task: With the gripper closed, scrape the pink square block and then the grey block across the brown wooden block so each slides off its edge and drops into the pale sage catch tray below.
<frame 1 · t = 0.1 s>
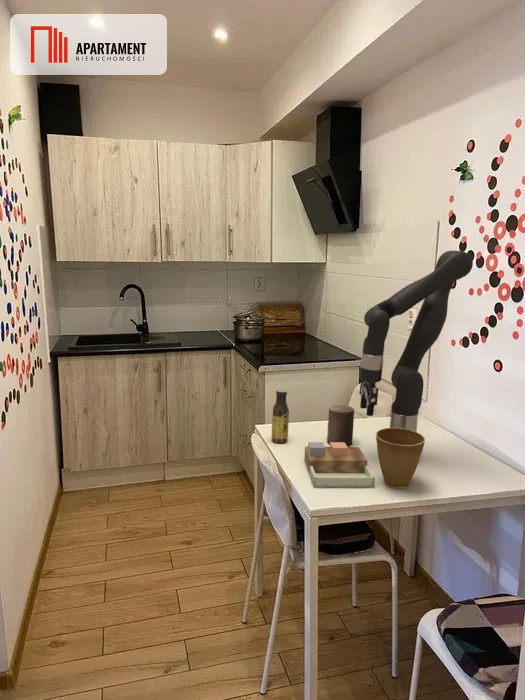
hand: (366, 411, 180), 17 cm above the table, tool pointing down, fingers open, 8 cm apart
brown wooden block: (334, 467, 175), on the table
pillar candle: (339, 442, 198), on the table
grey block: (316, 453, 173), point 5 cm above the table, touching brown wooden block
sage catch tray: (341, 481, 164), on the table
pink square block: (338, 453, 174), point 5 cm above the table, touching brown wooden block
plant pot: (396, 483, 164), on the table
sauce bottle: (279, 441, 197), on the table
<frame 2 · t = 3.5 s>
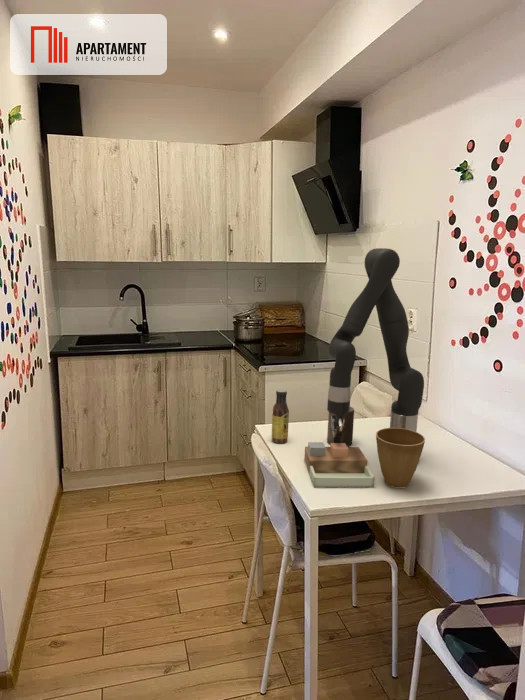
hand: (336, 446, 177), 6 cm above the table, tool pointing down, fingers closed
pink square block: (338, 454, 173), point 5 cm above the table, touching gripper
everything else where it was.
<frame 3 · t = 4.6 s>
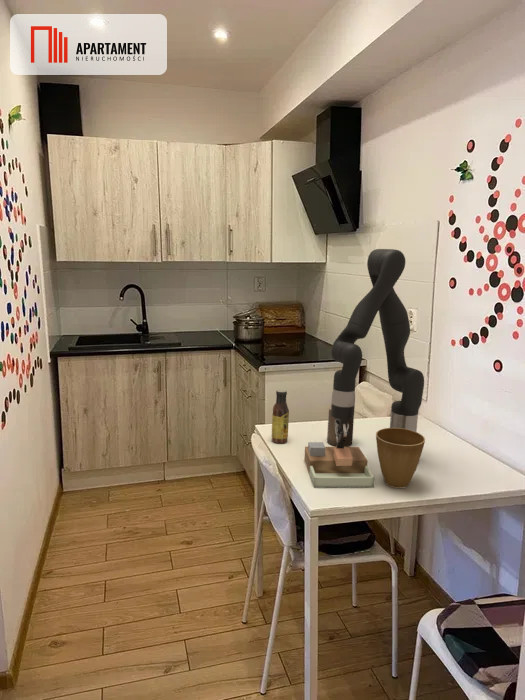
hand: (339, 452, 171), 7 cm above the table, tool pointing down, fingers closed
pink square block: (342, 460, 168), point 5 cm above the table, tilted 18°, touching gripper, brown wooden block
everything else where it was.
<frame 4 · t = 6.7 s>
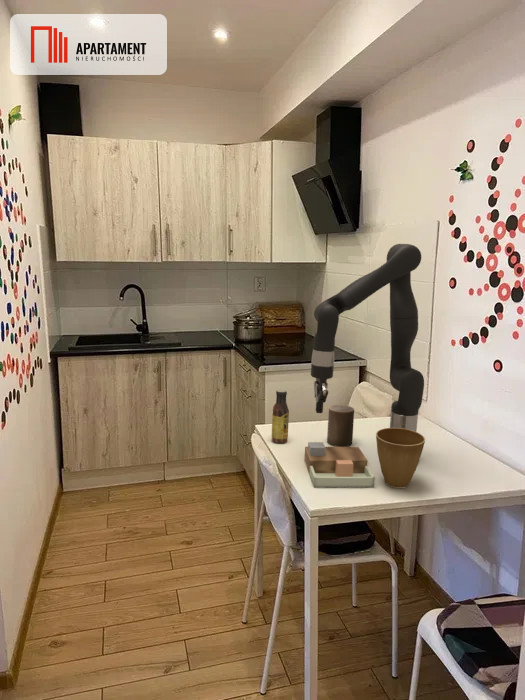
hand: (319, 412, 176), 18 cm above the table, tool pointing down, fingers closed
pink square block: (343, 467, 167), point 3 cm above the table, tilted 90°, touching sage catch tray
everything else where it was.
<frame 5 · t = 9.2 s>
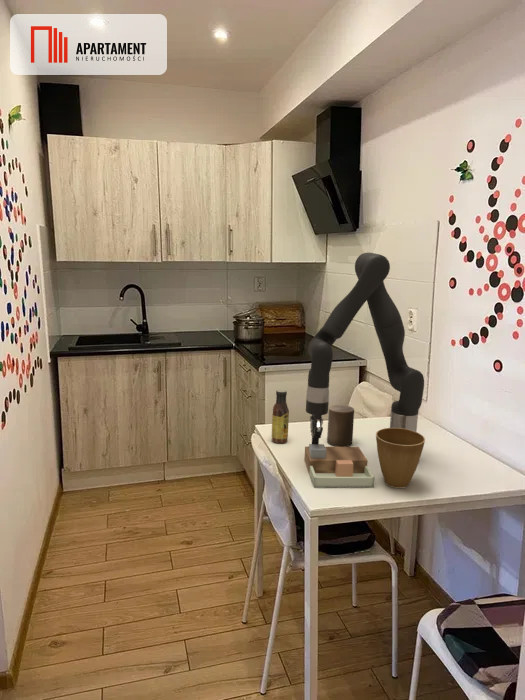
hand: (314, 447, 175), 6 cm above the table, tool pointing down, fingers closed
grey block: (317, 455, 171), point 5 cm above the table, touching gripper
everything else where it was.
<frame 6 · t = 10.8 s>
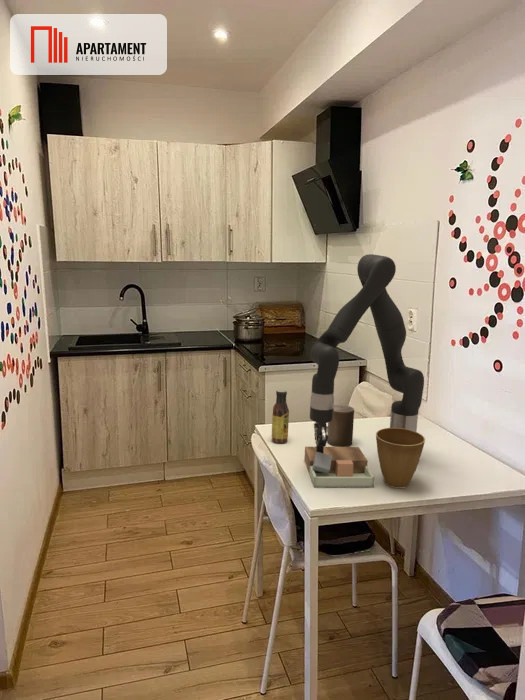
hand: (319, 456, 168), 6 cm above the table, tool pointing down, fingers closed
grey block: (320, 464, 166), point 4 cm above the table, tilted 42°, touching gripper, sage catch tray
everything else where it was.
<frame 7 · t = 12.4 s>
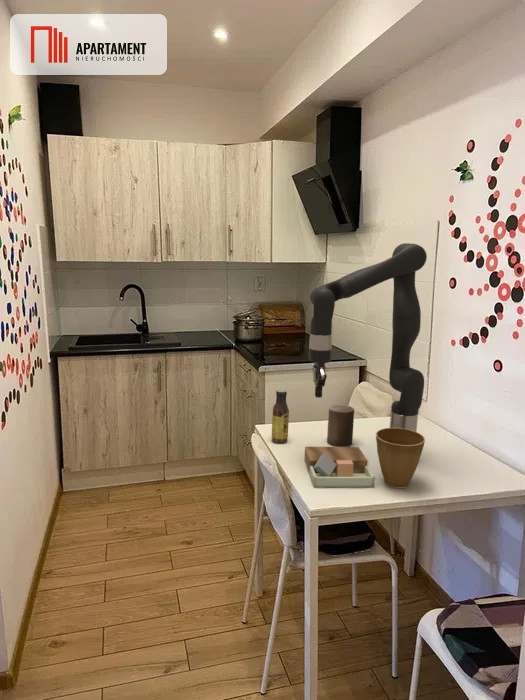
hand: (318, 396, 176), 23 cm above the table, tool pointing down, fingers closed
grey block: (322, 466, 166), point 4 cm above the table, tilted 56°, touching sage catch tray, brown wooden block
everything else where it was.
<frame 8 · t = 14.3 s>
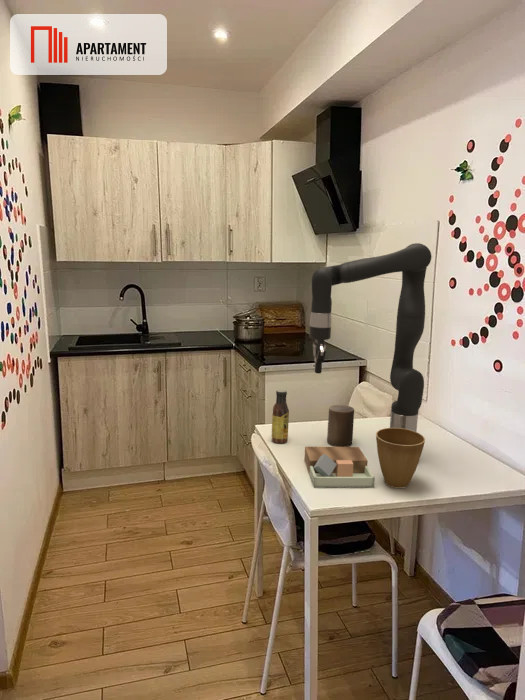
hand: (317, 372, 184), 29 cm above the table, tool pointing down, fingers closed
nothing on the table moved.
at the end: pink square block inside the target area (3.7 cm from its centre), point 3.1 cm above the table; grey block inside the target area (6.3 cm from its centre), point 3.5 cm above the table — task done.
